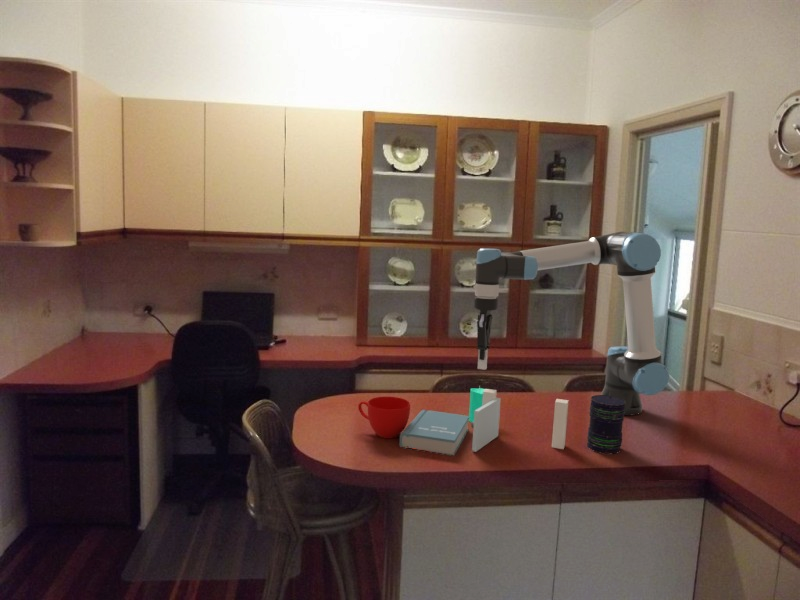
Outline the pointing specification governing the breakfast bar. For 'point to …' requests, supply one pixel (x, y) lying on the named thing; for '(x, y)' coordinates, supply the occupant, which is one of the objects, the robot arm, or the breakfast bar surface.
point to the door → (485, 424)
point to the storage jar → (606, 423)
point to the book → (435, 432)
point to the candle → (475, 401)
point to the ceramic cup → (387, 415)
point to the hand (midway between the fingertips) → (482, 368)
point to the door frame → (559, 418)
